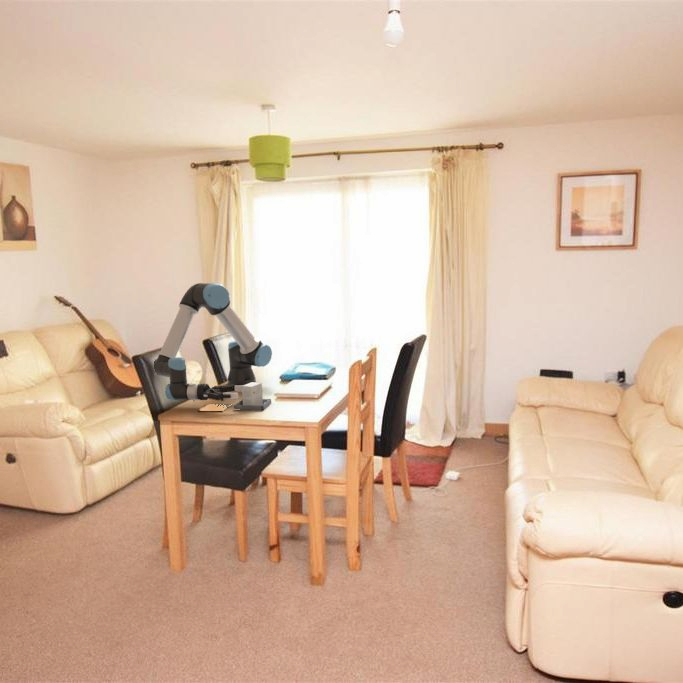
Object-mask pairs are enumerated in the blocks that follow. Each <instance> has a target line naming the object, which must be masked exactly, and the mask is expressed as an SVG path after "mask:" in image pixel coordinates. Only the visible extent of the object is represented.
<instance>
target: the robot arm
mask: <svg viewBox="0 0 683 683" xmlns="http://www.w3.org/2000/svg"><path fill="white" fill-rule="evenodd" d="M178 307H179V309H178V312H177V314H176V316H175V319H174V320H173V323H172V325H171V327H170V329H169V331H168V333H167V336H166V338H165V341H164V343H163V345H162V347H161V349H160V351H159V354H158V356H157V358H155V359H154V360H155V361H154V369H155V372H156V373H157V375H156V376H158V375H159V376H158V377H164V378H165V377H166V378H169V383H168V384H166V386H165V390H164V393H165V394H164V395H165V397H166V399H167V400H170V401H171V400H172V401H192V402H195V401H207V400H215V401H221V402H223V401H225V400H239V399H240V398H239V392H241V393H242V386H243V385H246V384H248V383H251V382H256V383H257V379H256V375H255V372H254V371H253V368H252V367H258V368H260V367H261V368H262V367H263V368H264V367H266V366H268V365H269V363H270V362H271V360H272V355H273V350H272V348H271V346H270V345H269V344H266V343H265V344H264V343H263V342H262V341H261V340H260V338H259V337H258V336H254V335H253V334H252V332H251V331H250V330H249V328H248V327H247V326H246V324H245V323H244V321H242V320H241V318H240V317H239V315H238V314H237V313H236V311H235V310H234V309H233V308H232V306H231V300H230V292H229V289H227V287H225V286H224V285H223V284H222V283H221V284H220V283H218V282H217V283H216V282H212V283H204V282H203V283H202V282H200V283H194V284H193V285H191V286H190V287H188V289H187V290H186V291H185V293H184V295H183V296H182V298H181V301H180V302H179V304H178ZM201 308H205V309H206V310H207V312H208V313H209V315H211V316H213V317H214V316H215V317H216V318H217V319H218V320H219V322H220V323H221V324H222V326H223V327H224V328H225V330H227V333H229V335H230V336H231V337H232V338H233V339H234V341H231V342H229V343H228V347H227V348H228V349H227V352H228V361H229V362H228V363H229V372H228V376H227V378H226V379H227V382H226V383H227V384H225V385H224V384H223V385H214V386H212V387H210V385H209V384H208V383H188V380H187V379H188V378H187V365H186V360H185V358H183V357H177V355H178V352H179V351H180V348H181V346H182V343H183V341H184V339H185V338H186V335H187V332H188V330H189V328H190V326H191V323H192V322H193V319H194V317H195V315H197V314H198V313H199V311H200V309H201Z"/></svg>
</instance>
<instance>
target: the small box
mask: <svg viewBox="0 0 683 683" xmlns="http://www.w3.org/2000/svg"><path fill="white" fill-rule="evenodd" d="M262 384H263V383H262V382H257V381H256V382H251V383H248V384H246V385H241V386H242V392H241V393H242V394H241V396H242V399H243V405H262V404H263V399H264V398H263V385H262Z"/></svg>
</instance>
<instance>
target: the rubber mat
mask: <svg viewBox="0 0 683 683" xmlns="http://www.w3.org/2000/svg"><path fill="white" fill-rule="evenodd" d="M216 404H218V406H219V405H220V404H221V405H223V404H224V405H226V407H228V406H229V405H231V404H232V403H220V402H219V403H217V402H216V403H215V405H216ZM221 405H220V406H221ZM224 405H223V406H224ZM218 406H217V407H218ZM231 406H232V405H231ZM223 408H224V407H223Z"/></svg>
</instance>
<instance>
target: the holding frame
mask: <svg viewBox="0 0 683 683" xmlns="http://www.w3.org/2000/svg"><path fill="white" fill-rule="evenodd" d="M271 404H272V399H271V398H263V404H262V405H243V398H242V399H241V400H240V401H238V402H237V403H236V404H235V405H233V408H234V409H240V410H239V411H251V410H263V411H265V410H266V409H267V408H268V407H269V406H270V405H271ZM234 409H233V410H234ZM264 409H265V410H264Z"/></svg>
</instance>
